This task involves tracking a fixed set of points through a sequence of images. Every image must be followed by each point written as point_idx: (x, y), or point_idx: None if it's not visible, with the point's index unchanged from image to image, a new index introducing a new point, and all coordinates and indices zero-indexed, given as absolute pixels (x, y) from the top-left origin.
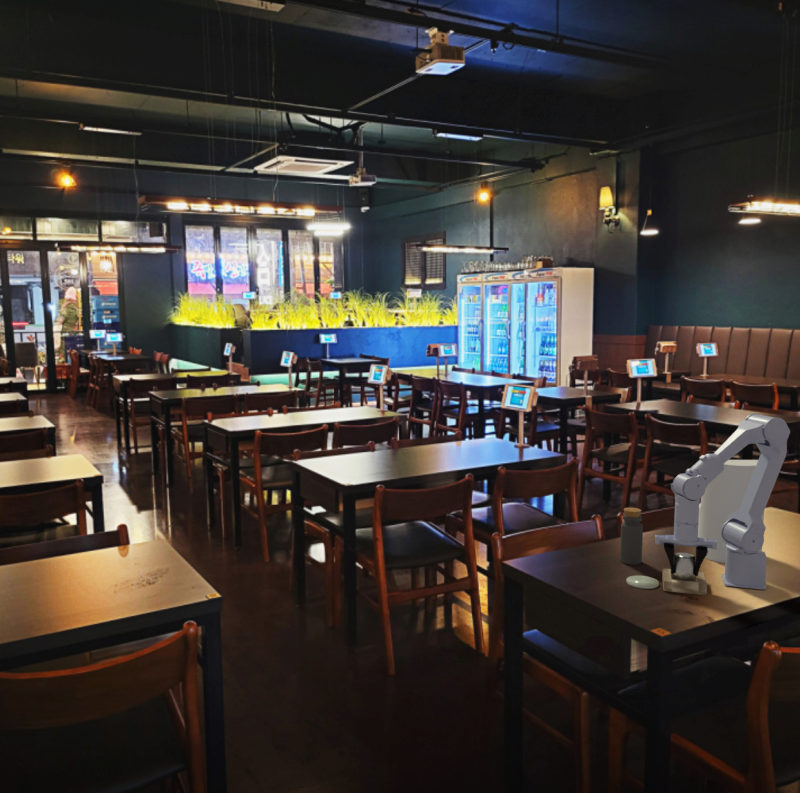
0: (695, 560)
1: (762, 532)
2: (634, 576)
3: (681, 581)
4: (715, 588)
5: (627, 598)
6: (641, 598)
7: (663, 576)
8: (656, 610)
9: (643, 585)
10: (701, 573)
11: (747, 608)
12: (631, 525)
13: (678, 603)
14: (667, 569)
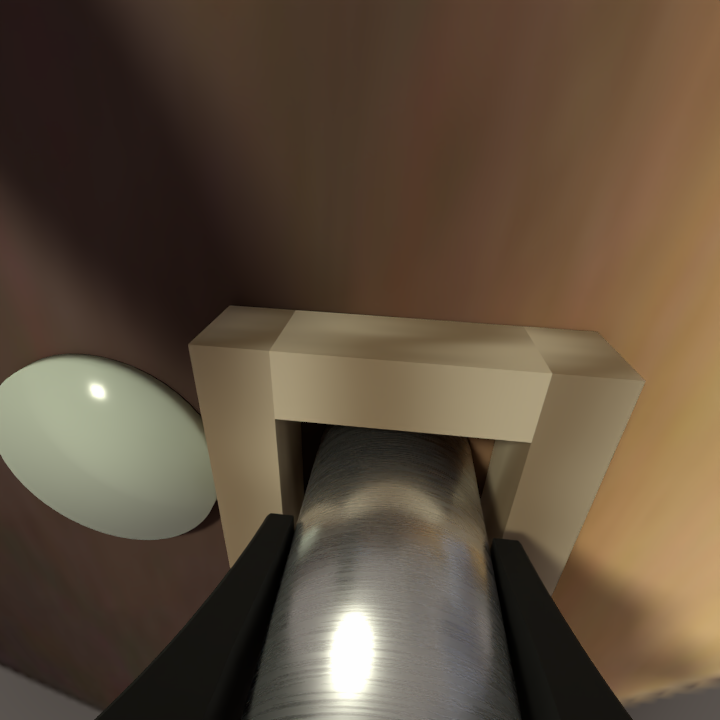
0: (545, 676)
1: None
2: (23, 392)
3: None
4: (642, 458)
5: (109, 623)
6: (166, 620)
7: (224, 535)
8: None
9: (132, 530)
10: (603, 418)
11: (685, 674)
12: None
13: None
14: (241, 368)
